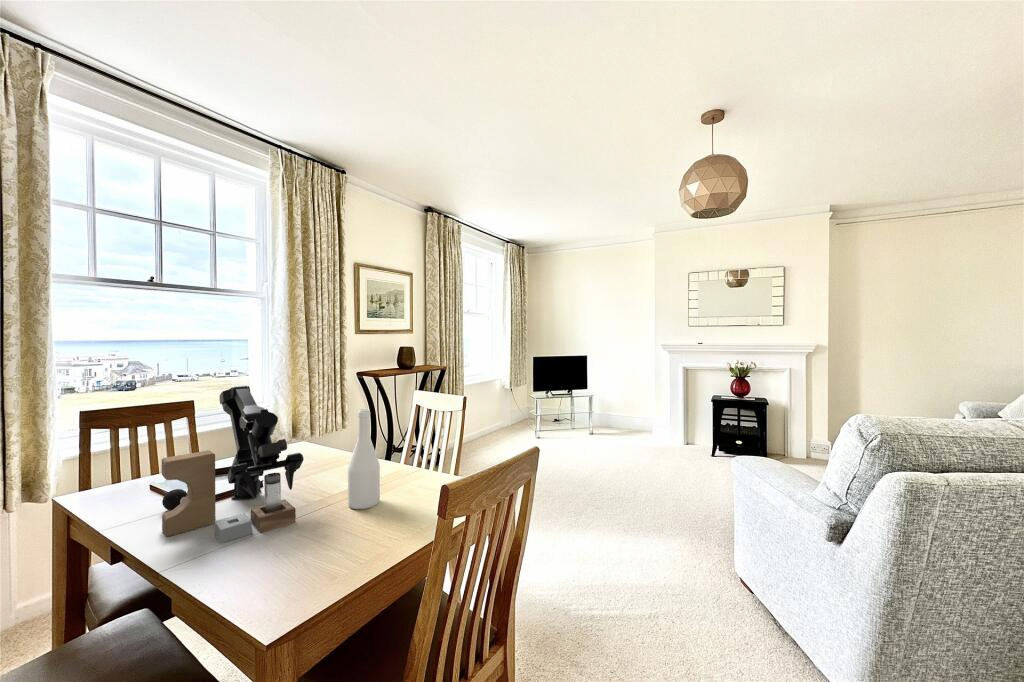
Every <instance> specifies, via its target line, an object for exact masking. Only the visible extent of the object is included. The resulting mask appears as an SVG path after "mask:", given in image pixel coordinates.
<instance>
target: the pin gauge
mask: <svg viewBox="0 0 1024 682" xmlns="http://www.w3.org/2000/svg"><path fill="white" fill-rule="evenodd" d="M263 476H264V477H263V478H264V480H263V483H264V485H263V487H264V493H263V494H264V505H265V514H268V513H271V512H275V511H278V510H281V500H282V499H281V498H282V493H281V489H282V488H281V486H282V485H281V484H282V483H281V481H282V480H281V473H280V472H272V473H271V472H270V473H267V474H265V475H263Z"/></svg>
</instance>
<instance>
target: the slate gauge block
mask: <svg viewBox="0 0 1024 682" xmlns="http://www.w3.org/2000/svg"><path fill="white" fill-rule="evenodd" d="M213 525H214V530H213V531H214V536H215V537H216V538H217V540H218V542H219V543H220V544H223V543H225V542H229V541H232V540H235V539H239V538H242V537H246V536H250V535H253V534H252V533H253V532H252V531H253V530H252V529H253V524H252V521H251V518H250V516H248V515H247V514H246V513H245V512H242V513H239V514H235V515H232V516H228V517H224V518H221V519H217V520H216V521H214V524H213Z"/></svg>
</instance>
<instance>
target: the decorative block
mask: <svg viewBox="0 0 1024 682" xmlns="http://www.w3.org/2000/svg"><path fill="white" fill-rule="evenodd" d="M161 476H162V477H163V478H164V480H165V481H179V482H182V483H184V484H185V485H186V488H187V491H186V492H187V496H186V497H185V499H184V500H183V501H182V503H181V504H179V505H178V506H177V507H176V508H175V509H173V510H167V512H163V513H162V515H161V531H162V532H163V534H164V536H165V537H167V538H169V537H172V535H173V536H176V535H179V533H180V534H183V533H187V532H190V531H193V530H197V529H201V528H204V527H207V526H211V525H214V521H216V518H217V517H216V516H217V515H216V454H215V453H213V452H212V451H211V450H210V449H209V450H208V449H207V450H203V451H202V450H201V451H196V452H192V453H186V454H180V455H174V456H168V457H162V459H161ZM186 531H187V532H186ZM175 534H176V535H175ZM168 536H169V537H168Z"/></svg>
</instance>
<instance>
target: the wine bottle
mask: <svg viewBox="0 0 1024 682" xmlns="http://www.w3.org/2000/svg"><path fill="white" fill-rule="evenodd" d="M357 417H358V431H357V432H358V435H357V438H356V439H357V440H356V442H355V446H354V448H353V452H352V455H351V457H350V460H349V464H348V466H347V504H348V507H349V508H350V509H353V510H366V509H367V510H368V509H371V508H373V507H375V506H376V505H378V504H379V503H380V500H381V499H380V498H381V490H380V489H381V487H380V486H381V484H380V483H381V482H380V481H381V473H380V472H381V470H380V469H381V465H380V462H379V458H378V455H377V454H376V450H375V447H374V444H373V441H372V438H371V429H370V426H371V425H370V423H371V422H370V417H371V411H370V409H369V408H361V409H359V410H358V412H357Z"/></svg>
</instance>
